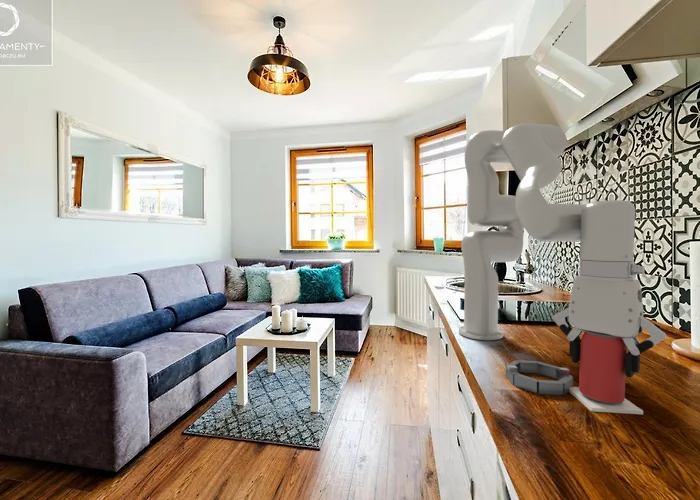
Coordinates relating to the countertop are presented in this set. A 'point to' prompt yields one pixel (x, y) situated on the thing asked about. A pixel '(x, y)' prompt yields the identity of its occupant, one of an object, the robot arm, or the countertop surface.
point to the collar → (539, 385)
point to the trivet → (605, 404)
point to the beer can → (602, 367)
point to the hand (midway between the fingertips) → (602, 367)
